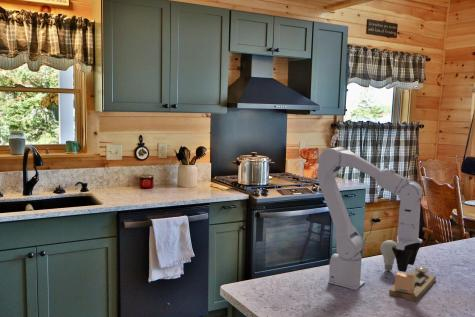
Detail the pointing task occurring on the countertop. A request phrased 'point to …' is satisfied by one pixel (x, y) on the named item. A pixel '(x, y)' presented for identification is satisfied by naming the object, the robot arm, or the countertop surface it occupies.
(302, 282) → the countertop surface
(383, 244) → the lightbulb
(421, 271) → the dished metal disc
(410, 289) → the forked latch lever
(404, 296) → the wooden board
